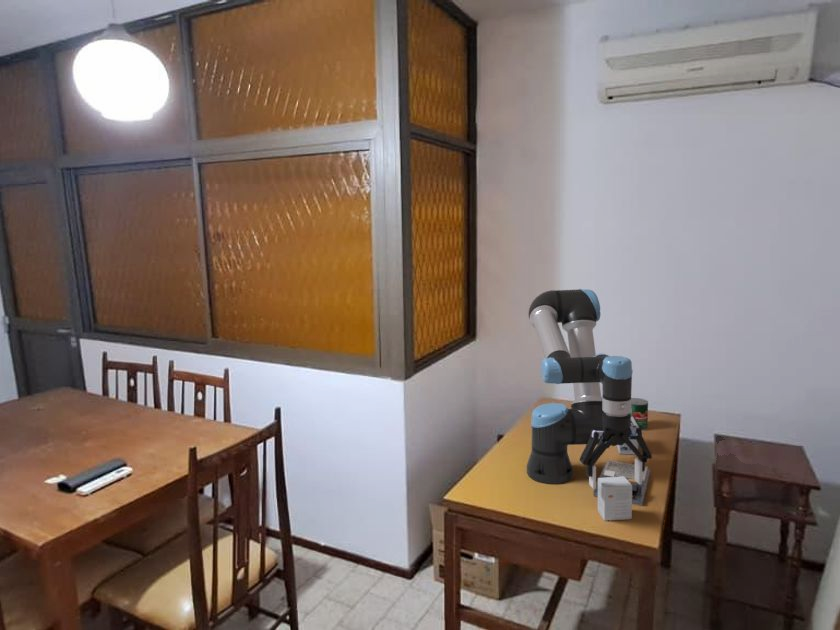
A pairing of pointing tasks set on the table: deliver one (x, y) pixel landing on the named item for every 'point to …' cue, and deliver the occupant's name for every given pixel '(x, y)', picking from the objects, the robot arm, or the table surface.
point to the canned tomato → (640, 412)
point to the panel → (628, 473)
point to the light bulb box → (624, 448)
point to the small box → (614, 498)
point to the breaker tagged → (633, 484)
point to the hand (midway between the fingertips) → (615, 484)
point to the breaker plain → (609, 473)
